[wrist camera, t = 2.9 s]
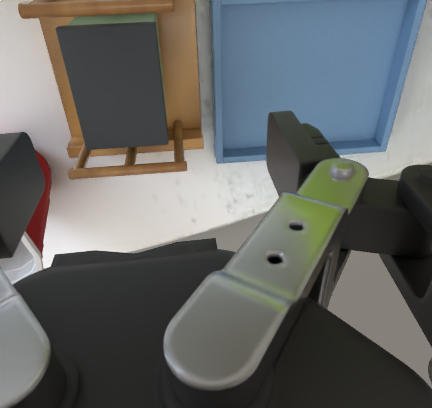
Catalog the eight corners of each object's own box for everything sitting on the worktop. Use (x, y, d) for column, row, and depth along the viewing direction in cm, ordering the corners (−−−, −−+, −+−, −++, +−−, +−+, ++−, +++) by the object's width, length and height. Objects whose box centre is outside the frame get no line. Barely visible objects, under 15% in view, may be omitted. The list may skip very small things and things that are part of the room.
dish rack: (76, 141, 33) (52, 196, 26) (29, -33, 25) (-24, -21, 18) (201, 133, 33) (209, 184, 27) (192, -39, 26) (200, -29, 19)
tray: (214, 153, 35) (216, 163, 33) (209, -8, 27) (212, -5, 25) (375, 141, 36) (385, 151, 34) (415, -17, 28) (431, -14, 26)
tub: (99, 116, 31) (86, 150, 26) (76, 11, 26) (54, 28, 21) (168, 112, 31) (168, 144, 26) (157, 7, 26) (155, 23, 22)
